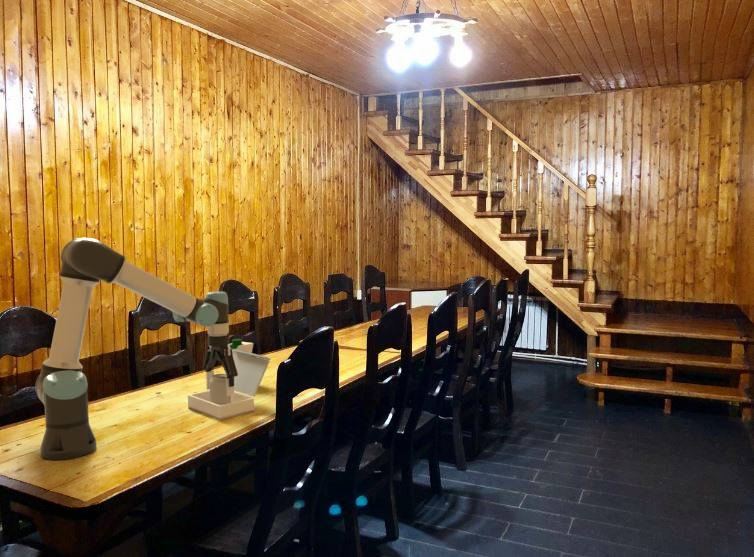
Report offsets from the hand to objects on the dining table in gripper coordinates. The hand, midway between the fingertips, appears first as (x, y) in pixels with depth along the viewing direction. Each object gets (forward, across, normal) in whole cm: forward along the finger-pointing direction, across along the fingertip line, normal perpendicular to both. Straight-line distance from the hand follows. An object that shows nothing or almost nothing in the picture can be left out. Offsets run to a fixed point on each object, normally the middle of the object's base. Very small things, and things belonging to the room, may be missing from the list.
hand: (220, 392), depth 231 cm
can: (+6, 0, 0) cm, 6 cm away
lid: (-6, 0, -9) cm, 11 cm away
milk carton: (+7, +25, -26) cm, 36 cm away
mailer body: (+7, 0, 0) cm, 7 cm away
